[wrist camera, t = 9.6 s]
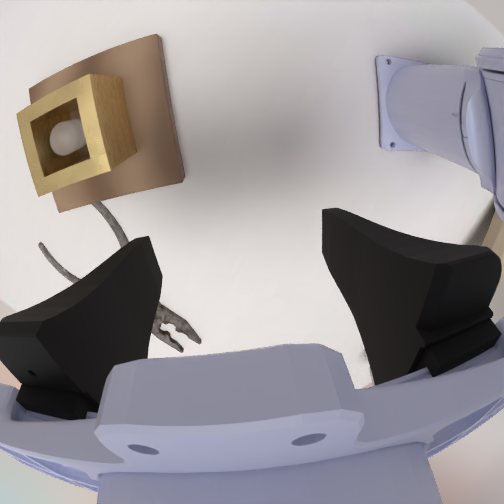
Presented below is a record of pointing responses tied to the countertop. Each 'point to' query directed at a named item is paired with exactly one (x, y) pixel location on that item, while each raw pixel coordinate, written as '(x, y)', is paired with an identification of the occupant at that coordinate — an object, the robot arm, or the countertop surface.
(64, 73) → the post board
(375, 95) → the countertop surface
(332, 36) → the countertop surface
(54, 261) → the pliers
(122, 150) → the collar
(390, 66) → the robot arm
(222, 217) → the countertop surface
